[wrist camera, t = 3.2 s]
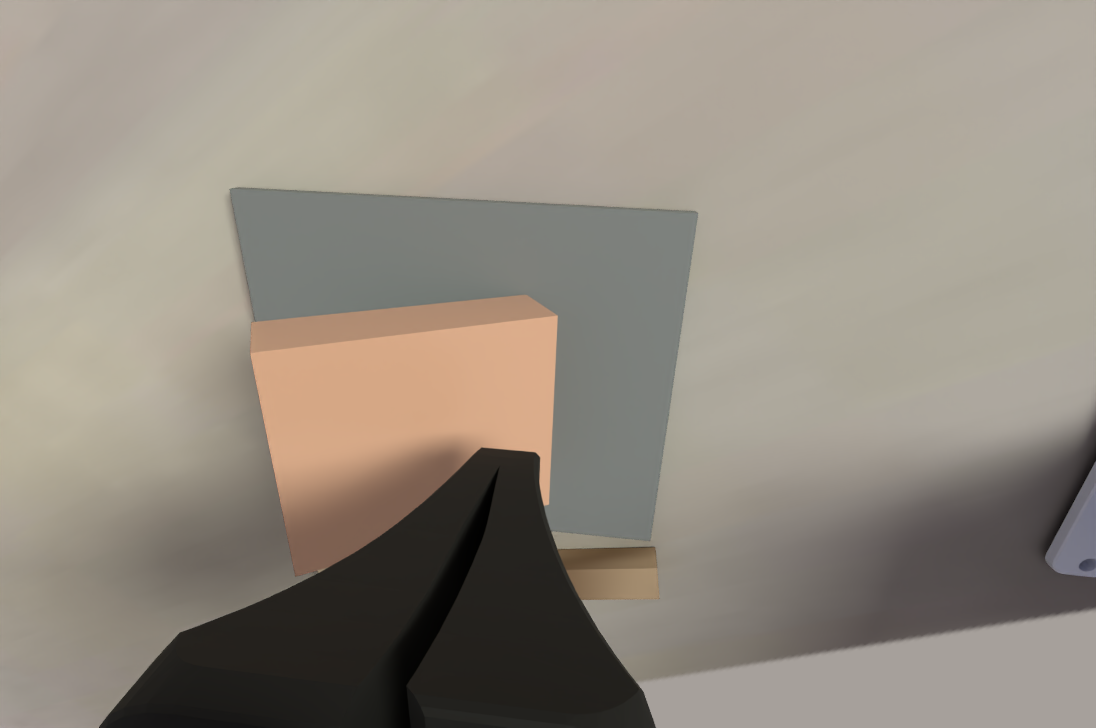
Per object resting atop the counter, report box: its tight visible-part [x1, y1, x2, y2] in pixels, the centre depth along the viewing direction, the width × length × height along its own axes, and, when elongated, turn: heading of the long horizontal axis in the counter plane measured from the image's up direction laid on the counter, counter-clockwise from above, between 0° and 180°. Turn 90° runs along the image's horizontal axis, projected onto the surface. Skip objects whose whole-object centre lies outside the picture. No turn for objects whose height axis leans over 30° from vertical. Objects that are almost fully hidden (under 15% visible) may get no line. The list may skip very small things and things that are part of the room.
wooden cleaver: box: [317, 547, 659, 600], centre depth 20 cm, size 13×4×1 cm, turn 98°
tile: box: [250, 295, 558, 577], centre depth 14 cm, size 2×6×7 cm
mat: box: [230, 187, 698, 541], centre depth 17 cm, size 13×11×1 cm
